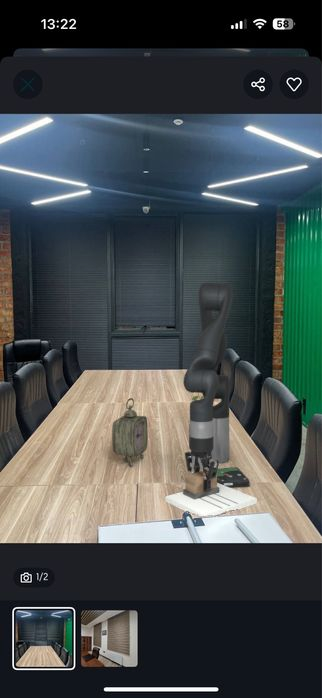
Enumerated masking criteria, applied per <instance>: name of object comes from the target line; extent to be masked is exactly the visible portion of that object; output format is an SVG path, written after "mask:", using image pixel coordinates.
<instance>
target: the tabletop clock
mask: <svg viewBox="0 0 322 698" xmlns="http://www.w3.org/2000/svg"><path fill="white" fill-rule="evenodd" d="M130 401H132V405H128V403H129V402H130ZM134 406H135V399H134V398H132V397H130V398H128V399H127V400H126V404H125V407H126V409H127V410H125V412H124V413H123V416H121V417H119V418H118V419H116V420H114V421H113V422H112V425H111V428H112V429H111V439H112V440H111V441H112V443H111V445H112V446H111V447H112V452H113V453H114V454H115V455H117V456H123V457H124V456H125V457H124V458H123V459H122V460H123V462H124V463H126V462H129V463H128V466H129V467H131V468H132V467H133V466H134V462H132V457H134V458H135V457H139V459H140V460H143V459H144V458H145V455H143V454H144V453H145V451H146V450H147V448H148V432H149V431H148V417H147V416H144V415H137V412H136V411H135V410H134V409H133V408H134Z"/></svg>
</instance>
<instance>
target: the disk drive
mask: <svg viewBox="0 0 322 698" xmlns="http://www.w3.org/2000/svg"><path fill="white" fill-rule="evenodd" d="M250 482H251V481H250V479H249V478H248V477H247V476H246V475H245V474H244V473H243V472H242V470H241V469H240V468H239V467H238V466H237V467H223V468H222V467H221V468H218V470H217V483H219V484H222V485H224V486H227V487H229V488H232V489H235V488H236V489H237V488H249V487H250V485H251V484H250Z"/></svg>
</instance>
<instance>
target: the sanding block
mask: <svg viewBox="0 0 322 698" xmlns="http://www.w3.org/2000/svg"><path fill="white" fill-rule="evenodd" d="M212 474H213V473H212ZM206 475H208V472H206ZM184 476H185V480H184V481H185V482H184V483H185V484H184V485H185V486H184V487H185V488H184V489H182V492H183V494H184V495H186V496H188V497H190V498H192V499H194V500H195V499H198V498H202V497H205V496H209V495H212V494H216V493H219V487H217V474H216V478H213V479H211V489H210V491H207V492H205V491H204V490H203V480H204V478H203V473H202V472H201V471H200V472H197V473H193V474H191V473H189V474H185V475H184Z"/></svg>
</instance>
